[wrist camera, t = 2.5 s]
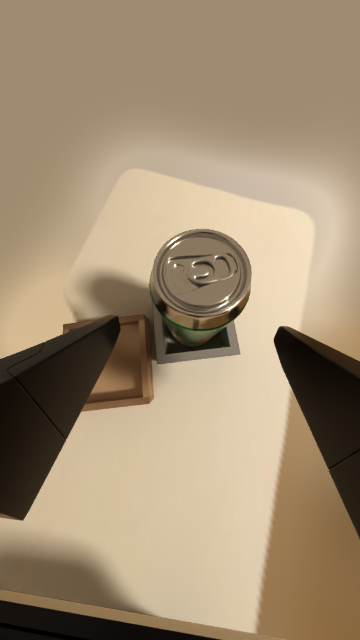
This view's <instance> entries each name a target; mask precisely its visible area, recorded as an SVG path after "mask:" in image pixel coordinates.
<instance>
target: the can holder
mask: <svg viewBox="0 0 360 640" xmlns="http://www.w3.org/2000/svg"><path fill="white" fill-rule="evenodd" d="M152 304H153V317H154V330H155V343H156V355H157V364H164V363H172V362H181V361H189V360H197V359H206V358H214V357H223V356H231V355H239V354H240V349H239V344H238V340H237V335H236V330H235V325H234V320H233V321H232V322H231V323H229V324H228V325H227V326H226V327H224V328H223V329H222V330H221V331H220V334H221V340H222V345H223V348H216V349H207V350H199V351H191V352H182V353H174V354H168V345H167V335H166V324H165V321H164V320H163V318H162V317H161V315H160V313H159V312H158V310H157V308H156V307H155V305H154V303H153V300H152Z"/></svg>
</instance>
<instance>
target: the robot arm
mask: <svg viewBox="0 0 360 640" xmlns="http://www.w3.org/2000/svg"><path fill="white" fill-rule="evenodd" d="M120 331H121V327H120V322H119V318H118V316H117V315H109V316H106V317H104V318H102V319H99V320H97V321H94V322H92V323H89V324H87V325H85V326H82V327H80V328H77V329H75V330H72V331H70V332H68V333H65V334H63V335H60V336H58V337H55V338H53V339H51V340H48V341H46V342H43V343H41V344H38V345H36V346H33V347H31V348H28V349H26V350H23V351H21V352H18V353H16V354H13V355H10V356H7V357H5V358H2V359H0V517H1V518H8V519H14V520H21V521H23V520H24V518H25V517H26V515H27V513H28V511H29V510H30V508H31V506H32V504H33V502H34V500H35V498H36V496H37V494H38V493H39V491H40V489H41V487H42V485H43V483H44V481H45V479H46V477H47V476H48V474H49V472H50V470H51V468H52V466H53V464H54V462H55V460H56V458H57V457H58V455H59V453H60V451H61V449H62V447H63V445H64V443H65V441H66V439H67V437H68V435H69V434H70V432H71V430H72V428H73V426H74V424H75V422H76V420H77V418H78V416H79V415H80V413H81V411H82V409H83V407H84V405H85V403H86V401H87V399H88V397H89V396H90V394H91V392H92V390H93V388H94V386H95V384H96V382H97V380H98V379H99V377H100V375H101V373H102V371H103V369H104V367H105V365H106V363H107V361H108V360H109V358H110V356H111V354H112V351H113V349H114V346H115V344H116V341H117V339H118V336H119V333H120ZM274 344H275V347H276V350H277V353H278V357H279V360H280V363H281V365H282V368H283V370H284V373H285V375H286V377H287V379H288V381H289V384H290V386H291V388H292V390H293V392H294V394H295V397H296V399H297V401H298V404H299V406H300V408H301V410H302V412H303V415H304V417H305V419H306V421H307V423H308V425H309V427H310V430H311V432H312V434H313V437H314V439H315V441H316V443H317V445H318V448H319V450H320V452H321V454H322V456H323V459H324V461H325V463H326V465H327V467H328V469H329V472H330V474H331V477H332V479H333V481H334V483H335V485H336V487H337V490H338V492H339V494H340V497H341V499H342V501H343V503H344V505H345V508H346V510H347V512H348V514H349V516H350V518H351V520H352V523H353V525H354V527H355V530H356V532H357V534H358V536H359V539H360V361H358V360H356V359H354V358H352V357H349V356H347V355H345V354H343V353H341V352H339V351H337V350H335V349H333V348H331V347H329V346H327V345H325V344H323V343H321V342H319V341H317V340H315V339H313V338H311V337H309V336H307V335H304V334H302V333H300V332H299V331H296V330H294V329H292V328H290V327H287V326H280V327H279V328H278V330H277V333H276V335H275V337H274ZM0 640H287V639H282V638H276V637H270V636H264V635H259V634H253V633H247V632H242V631H236V630H230V629H225V628H219V627H213V626H207V625H202V624H196V623H190V622H185V621H179V620H173V619H167V618H162V617H156V616H150V615H145V614H139V613H133V612H127V611H122V610H116V609H110V608H105V607H99V606H93V605H87V604H82V603H76V602H70V601H65V600H59V599H53V598H47V597H42V596H36V595H30V594H25V593H19V592H13V591H7V590H2V589H0Z"/></svg>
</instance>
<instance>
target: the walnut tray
mask: <svg viewBox="0 0 360 640" xmlns="http://www.w3.org/2000/svg"><path fill="white" fill-rule="evenodd" d="M95 321H97V320H95ZM92 322H94V321H86V322H78V323H71V324H64V325H63V334H65V333H68V332H70V331H72V330H75V329H77V328H80V327H82V326H85V325H87V324H89V323H92ZM119 322H120V327H121V331H120V333H119V336H118V339H117V341H116V344H115V346H114V349H113V351H112V354H111V356H110V358H109V360H108V361H107V363H106V365H105V367H104V369H103V371H102V373H101V375H100V377H99V379H98V380H97V382H96V384H95V386H94V388H93V390H92V392H91V394H90V396H89V397H88V399H87V401H86V403H85V405H84V407H83V409H82V411H90V410H99V409H107V408H116V407H125V406H133V405H142V404H150V402H151V401H152V400H153V399H154V394H153V379H152V365H151V351H150V337H149V322H148V318H147V317H146V316H145V315H144V314H143V315H135V316H127V317H119ZM82 411H81V412H82Z"/></svg>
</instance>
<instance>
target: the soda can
mask: <svg viewBox="0 0 360 640" xmlns="http://www.w3.org/2000/svg"><path fill="white" fill-rule="evenodd" d="M149 286H150V294H151V297H152V300H153V303H154V305H155V307H156V308H157V310H158V312H159V313H160V315H161V317H162V318H163V320H164V321H165V323H166V325H167V326H168V328H169V330H170V331H171V333H172V335H173V336H174V338H175V339H176V340H177V341H178V342H180V343H181V344H183V345H186V346H199V345H202V344H204V343H205V342H207V341H208V340H209V339H211V338H212V337H213V336H214V335H216V334H217V333H218V332H219V331H221V330H222V329H223V328H224V327H226V326H227V325H228V324H229V323H231V322H232V321H233V320H234V319H235V318H236V317H237V316H238V315H239V314H240V313H241V312H242V311H243V309H244V308H245V306H246V304H247V302H248V299H249V295H250V289H251V265H250V262H249V259H248V257H247V254H246V253H245V251H244V250H243V248H242V247H241V246H240V245H239V244H238V243H237V242H236V241H235V240H234V239H232V238H231V237H229V236H227V235H226V234H223V233H221V232H218V231H214V230H209V229H195V230H189V231H185V232H182V233H180V234H178V235H176V236H174V237H173V238H171V239H170V240H169V241H167V242H166V243H165V244H164V245H163V247H162V248H161V249H160V251H159V252H158V254H157V256H156V258H155V261H154V265H153V269H152V272H151V276H150V284H149Z"/></svg>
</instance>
